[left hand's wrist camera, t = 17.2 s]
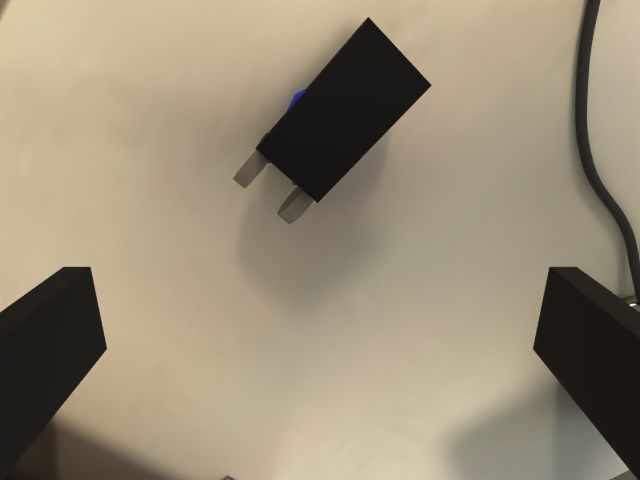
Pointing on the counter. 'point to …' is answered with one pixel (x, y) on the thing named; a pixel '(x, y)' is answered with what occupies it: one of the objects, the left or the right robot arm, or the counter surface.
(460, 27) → the counter surface
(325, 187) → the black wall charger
